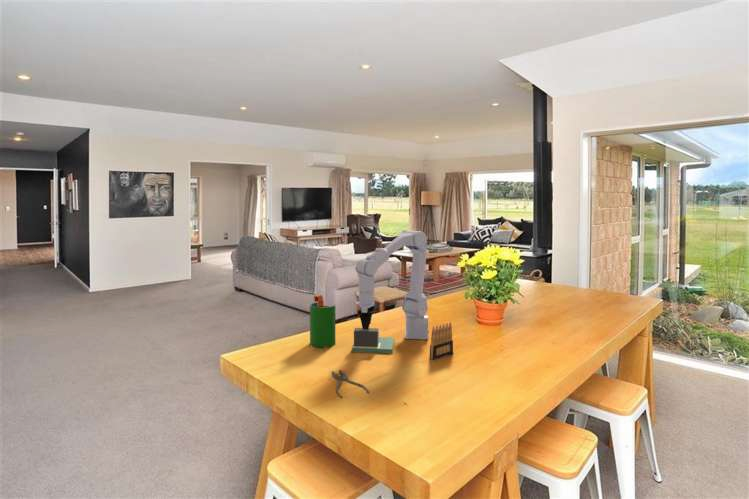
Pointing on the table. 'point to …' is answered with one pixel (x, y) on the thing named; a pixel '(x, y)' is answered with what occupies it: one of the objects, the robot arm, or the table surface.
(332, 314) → the green and brown cylinder
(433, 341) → the ammunition clip
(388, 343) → the header board
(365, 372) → the table surface
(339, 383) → the pliers
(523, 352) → the table surface
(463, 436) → the table surface
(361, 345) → the block
